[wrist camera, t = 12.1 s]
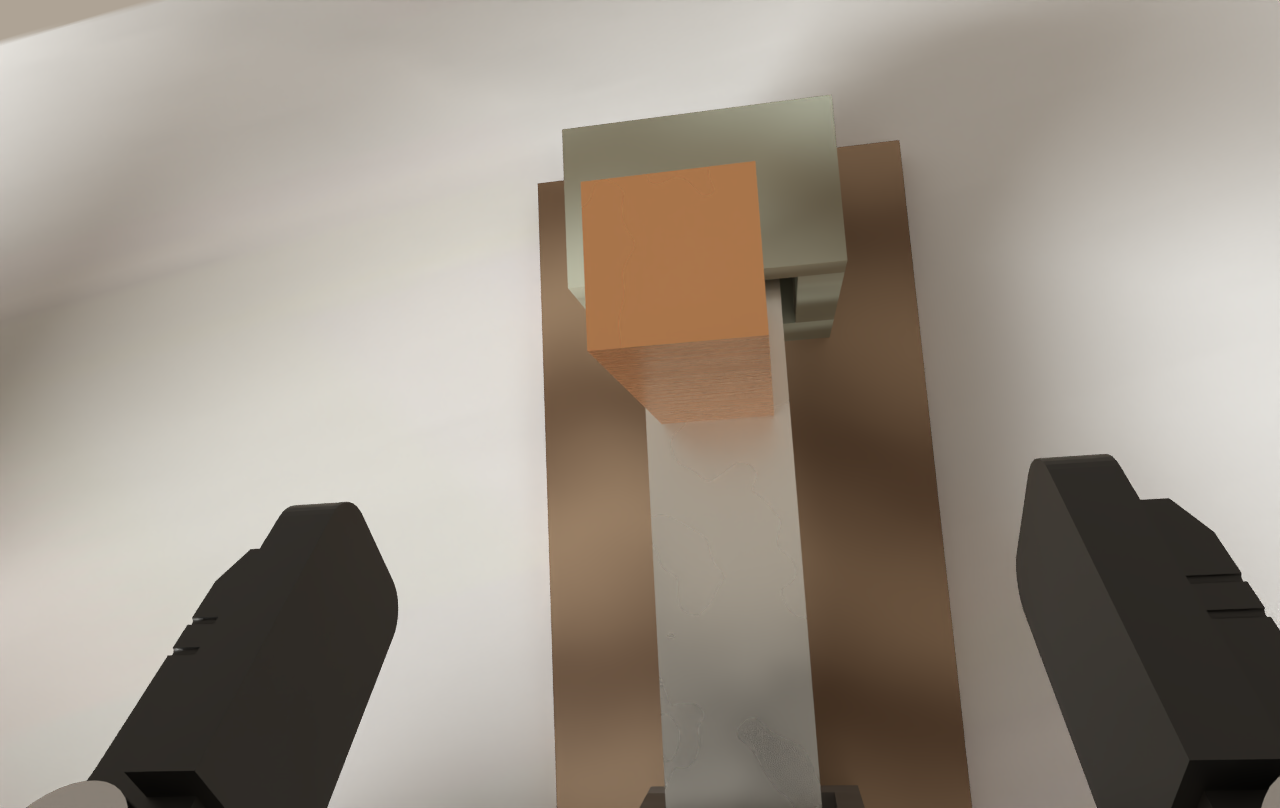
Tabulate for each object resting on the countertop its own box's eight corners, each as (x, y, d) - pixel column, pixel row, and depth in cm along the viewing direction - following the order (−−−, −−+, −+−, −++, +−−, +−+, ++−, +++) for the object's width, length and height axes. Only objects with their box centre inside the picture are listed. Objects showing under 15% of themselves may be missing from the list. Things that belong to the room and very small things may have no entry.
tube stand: (1025, 1369, 20) (1169, 1860, 13) (582, 1327, 22) (478, 1738, 15) (894, 155, 26) (941, -7, 18) (546, 196, 27) (456, 64, 20)
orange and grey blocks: (829, 933, 20) (881, 1368, 9) (692, 930, 20) (596, 1340, 10) (773, 237, 22) (766, -21, 12) (655, 250, 23) (550, 11, 13)
